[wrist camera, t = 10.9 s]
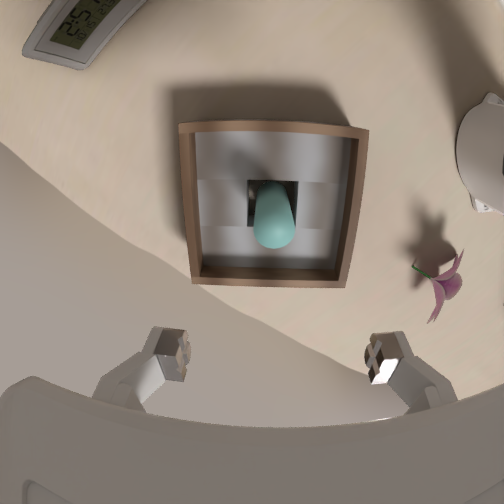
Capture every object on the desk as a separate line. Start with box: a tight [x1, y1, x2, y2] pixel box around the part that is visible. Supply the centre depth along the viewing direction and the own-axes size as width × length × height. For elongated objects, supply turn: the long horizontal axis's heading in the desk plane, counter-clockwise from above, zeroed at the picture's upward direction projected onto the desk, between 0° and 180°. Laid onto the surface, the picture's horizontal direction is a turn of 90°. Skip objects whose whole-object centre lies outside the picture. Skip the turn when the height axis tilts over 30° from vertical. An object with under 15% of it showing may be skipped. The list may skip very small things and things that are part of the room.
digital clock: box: [22, 0, 147, 70], centre depth 16 cm, size 16×9×11 cm, turn 122°
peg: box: [253, 181, 295, 249], centre depth 28 cm, size 4×4×10 cm
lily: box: [412, 249, 464, 324], centre depth 33 cm, size 12×12×10 cm
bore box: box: [178, 119, 369, 288], centre depth 30 cm, size 18×18×6 cm
